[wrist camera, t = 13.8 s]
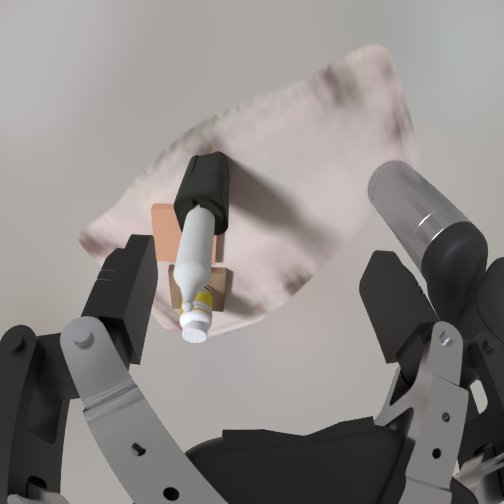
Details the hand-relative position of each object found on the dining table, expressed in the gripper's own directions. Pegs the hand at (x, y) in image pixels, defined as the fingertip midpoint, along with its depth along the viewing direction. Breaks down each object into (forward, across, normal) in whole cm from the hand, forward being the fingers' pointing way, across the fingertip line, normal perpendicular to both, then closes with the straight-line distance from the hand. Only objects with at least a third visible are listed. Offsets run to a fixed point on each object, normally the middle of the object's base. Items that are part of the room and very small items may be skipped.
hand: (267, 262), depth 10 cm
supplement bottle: (+29, +5, +32) cm, 43 cm away
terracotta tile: (+30, +7, +20) cm, 37 cm away
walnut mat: (+30, +5, +32) cm, 44 cm away
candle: (+30, +4, +9) cm, 32 cm away
